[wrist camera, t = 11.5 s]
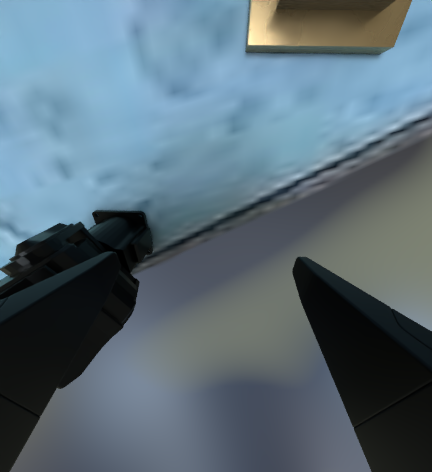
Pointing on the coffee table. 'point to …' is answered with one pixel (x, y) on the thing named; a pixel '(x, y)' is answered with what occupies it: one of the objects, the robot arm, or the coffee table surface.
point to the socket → (325, 25)
